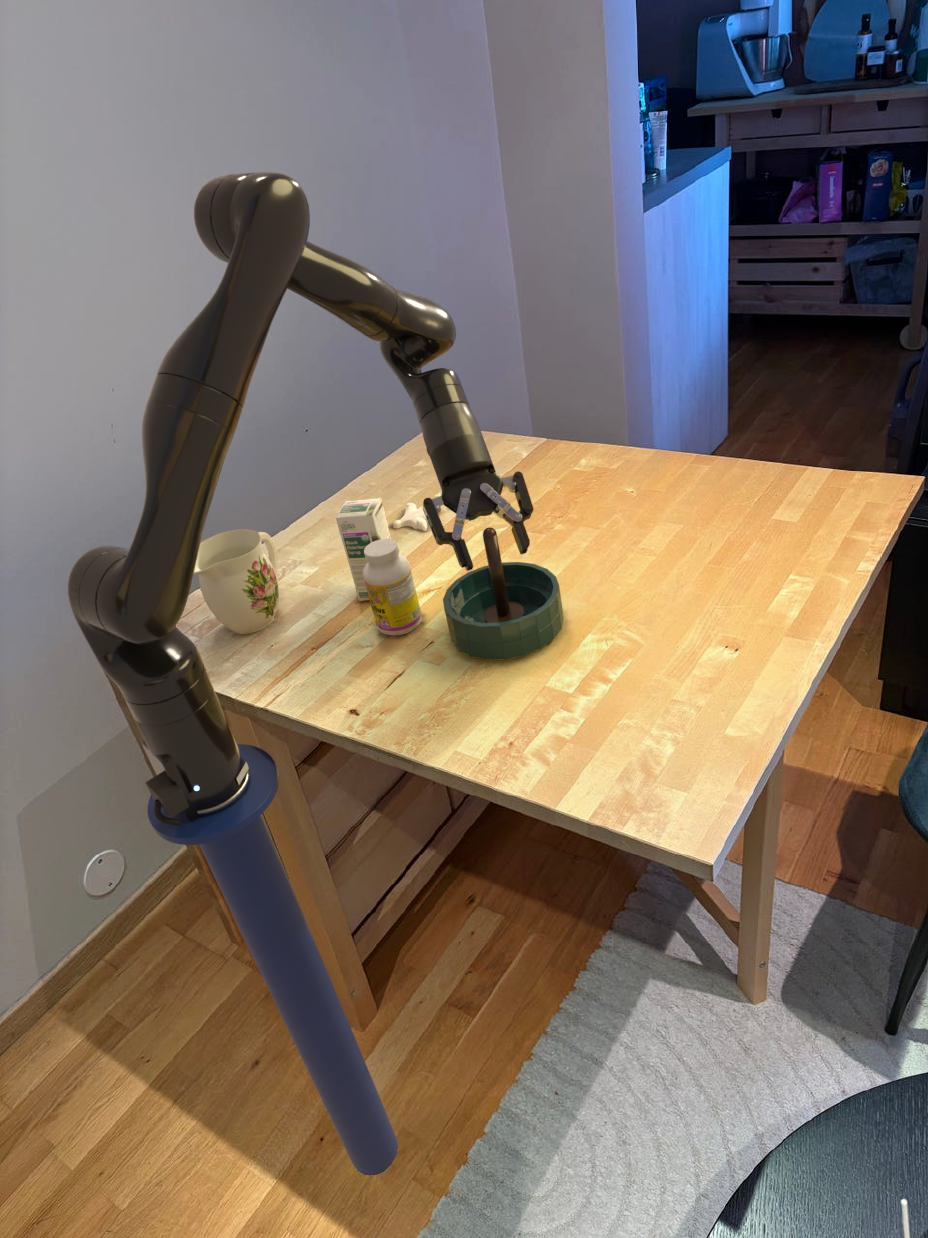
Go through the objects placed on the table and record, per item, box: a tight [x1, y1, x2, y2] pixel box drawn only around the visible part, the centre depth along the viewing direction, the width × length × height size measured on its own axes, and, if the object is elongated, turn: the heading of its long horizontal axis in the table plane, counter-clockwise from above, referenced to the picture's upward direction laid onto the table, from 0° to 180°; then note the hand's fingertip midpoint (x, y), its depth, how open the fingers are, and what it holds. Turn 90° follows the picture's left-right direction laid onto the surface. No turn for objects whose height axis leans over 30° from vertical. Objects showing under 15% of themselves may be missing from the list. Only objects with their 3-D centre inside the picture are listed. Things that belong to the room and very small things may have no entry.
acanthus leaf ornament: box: [392, 502, 429, 532], centre depth 158 cm, size 8×7×2 cm
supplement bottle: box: [363, 538, 423, 636], centre depth 129 cm, size 7×7×13 cm
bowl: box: [442, 561, 565, 661], centre depth 125 cm, size 16×16×6 cm
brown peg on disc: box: [482, 526, 525, 623], centre depth 122 cm, size 6×6×15 cm
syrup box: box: [335, 497, 392, 602], centre depth 137 cm, size 6×6×14 cm
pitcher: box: [193, 528, 280, 635], centre depth 137 cm, size 11×18×14 cm, turn 158°
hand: (497, 560), depth 119 cm, fingers open, 7 cm apart
